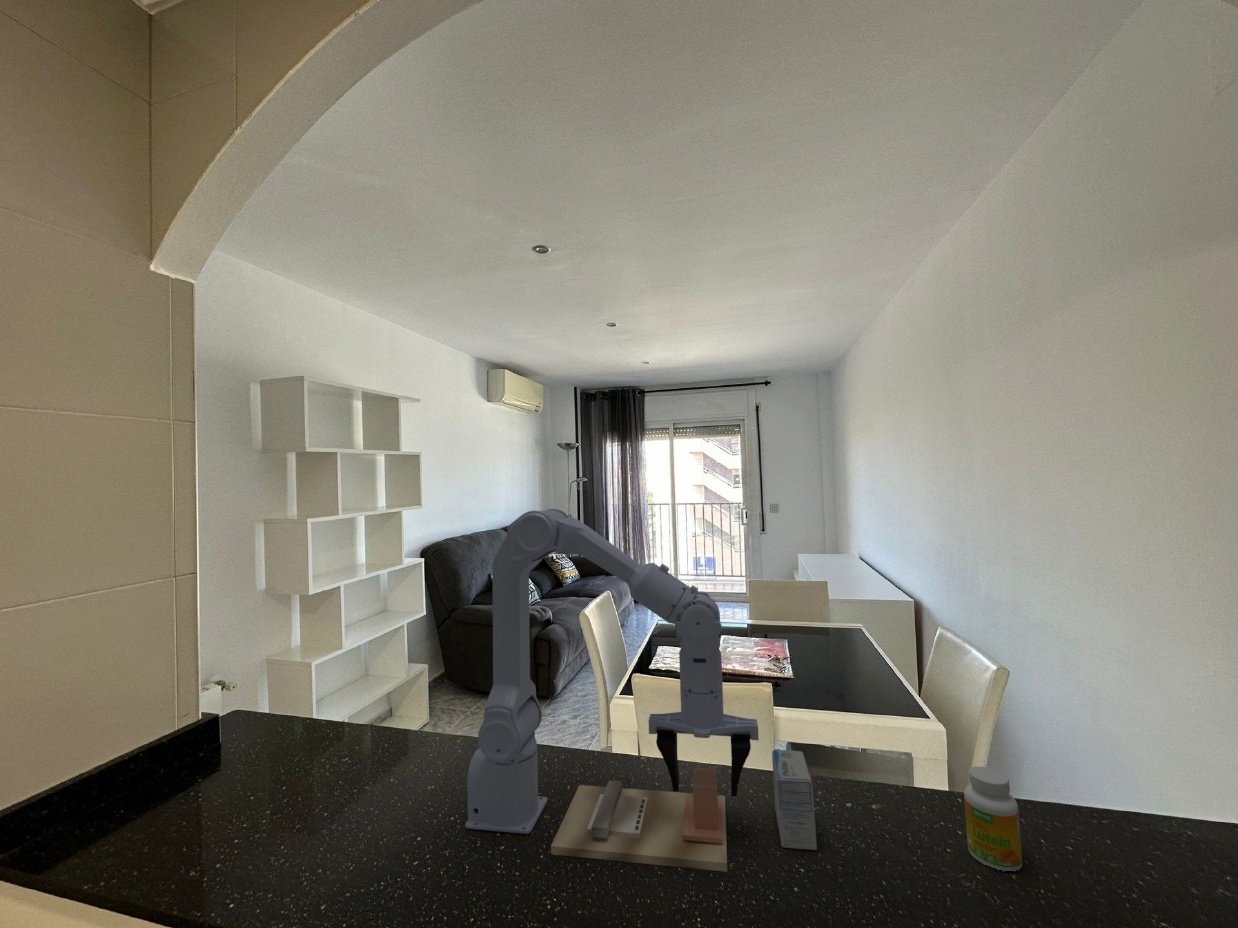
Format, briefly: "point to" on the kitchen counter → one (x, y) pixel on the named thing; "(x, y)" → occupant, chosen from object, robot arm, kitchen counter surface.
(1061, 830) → the kitchen counter surface
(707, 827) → the stub
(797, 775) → the medicine box
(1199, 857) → the kitchen counter surface
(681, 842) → the board
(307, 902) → the kitchen counter surface
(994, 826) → the supplement bottle
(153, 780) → the kitchen counter surface
